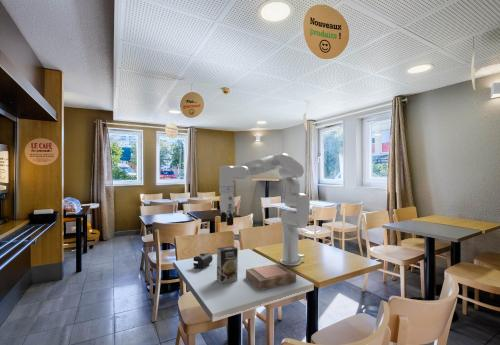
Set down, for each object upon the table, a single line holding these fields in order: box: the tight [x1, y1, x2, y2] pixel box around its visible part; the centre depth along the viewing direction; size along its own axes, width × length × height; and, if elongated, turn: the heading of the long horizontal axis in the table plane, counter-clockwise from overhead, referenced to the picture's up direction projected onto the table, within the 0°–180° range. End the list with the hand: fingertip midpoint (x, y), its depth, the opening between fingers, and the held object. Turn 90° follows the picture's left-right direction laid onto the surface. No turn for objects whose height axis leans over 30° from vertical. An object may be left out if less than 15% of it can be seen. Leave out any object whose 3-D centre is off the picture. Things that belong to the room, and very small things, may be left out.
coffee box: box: [216, 245, 239, 285], centre depth 127 cm, size 9×6×16 cm
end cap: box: [193, 252, 213, 270], centre depth 146 cm, size 10×7×7 cm
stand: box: [245, 263, 297, 291], centre depth 127 cm, size 20×16×4 cm
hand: (226, 223), depth 128 cm, fingers open, 9 cm apart
